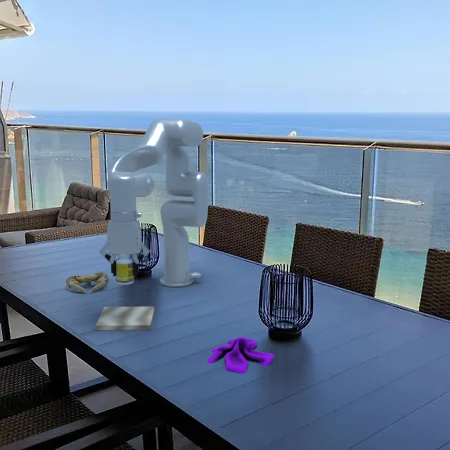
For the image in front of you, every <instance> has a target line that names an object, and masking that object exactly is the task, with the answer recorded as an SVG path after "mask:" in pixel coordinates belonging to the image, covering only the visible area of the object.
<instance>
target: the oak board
mask: <svg viewBox="0 0 450 450" xmlns="http://www.w3.org/2000/svg"><path fill="white" fill-rule="evenodd" d="M154 314H155V306H104V307H103V309H102V311H101V313H100V315H99V317H98V320H97V322H96V323H95V326H94V327H95V328H94V329H95V331H150V330H151V328H152V324H153V318H154Z"/></svg>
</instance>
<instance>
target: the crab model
mask: <svg viewBox="0 0 450 450" xmlns="http://www.w3.org/2000/svg"><path fill="white" fill-rule="evenodd" d="M103 277H104V279H105V280H104V279H103ZM109 281H110V277H109V275H108V274H107V273H105V272H104V271H98V272H97V273H95V274H85V275H82V276H81V275H78V274H76V275H70V276H69V277H68V278H66V281H65V285H66V289H67V290H68V291H71V289H70V287H71V288H73V290H76V291H78V292H81V293H83V294H85V293H87V290H86V289H85V288H84V287H82V286H81V285H82V284H87V285H88V286H91V284H92V283H93V282H94V283H97V284H95V285H94V286H93V288H92V289H90V292H89V293H94V292H96V291H97V290H99V289H101V288H103V287H104V286H106V285H108V283H109ZM70 282H71V284H70Z"/></svg>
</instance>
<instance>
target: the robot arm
mask: <svg viewBox="0 0 450 450" xmlns="http://www.w3.org/2000/svg"><path fill="white" fill-rule="evenodd" d="M203 138H204V132H203V128H202V126H201V125H200V124H199V123H198V122H196V121H191V120H187V119H182V118H158V119H155V120H153V121H151V123H150V124H149V126H148V127H147V129H146V131H145V134H144V136H143V137H142V140H141V141H140V143H139V145H138V146H137V147H135V148H133V149H131V150H130V151H128V152H127V153H125V154H123V155H122V156H121V157H119V158H118V159H117V160H116V161H115V163H114V165H113V166H112V168H111V170H110V172H109V174H108V177H107V181H106V187H107V190H108V192H109V196H110V197H109V198H110V199H109V201H110V202H109V205H110V220H108V223H107V224H108V225H107V233H106V242H105V244H104V245H103V246H102V247H101V248H100V250H98V253H99V254H100V255H102V256H103V257H104V258H105V260H107V261H108V263H109V264H110V272H111V274H112V277H113V278H114V277H115V278H116V259H117V256H118V255H120V254H132V255H131V257H132V258H133V259H134V264H133V276H134V277H137V274H139V273H140V268H139V267H140V265H139V263H140V262H141V261H142V260H143V259H144V258H145V257H146V256H148V254H149V253H150V251H151V250H150V249H149V248H148V247H147V246H146V244H144V242H143V240H142V238H143V237H142V229H141V228H142V227H141V224H140V220H138V218H142V212H138V211H137V198H146V197H148V196H150V195H151V193H153V191H154V188H155V180H154V179H153V177H152V176H151V175H150V174H149V173H147V172H139V170H142V169H146V168H149V167H152V166H154V165H157V164H159V163H160V162H161V161H162V160H163V158H164V155H165V162H166V166H165V190H166V193H167V194H168V195H169V196H173V197H183V198H193V200H183V199H180V200H179V199H170V200H166V201H164V202H163V203H162V204H161V207H160V211H159V212H160V218H161V225H162V233H163V234H162V235H163V237H162V238H163V240H162V241H163V276H162V277H161V278H160V279H159V283H160V284H161V285H162V286H166V287H173V288H177V287H178V288H179V287H185V286H190V285H192V284H193V283H194V279H201V278H202V277H201V276H202V274H201V273H200V272H198V271H196V272H195V271H194V272H192V271H191V269H190V239H189V237H190V236H189V234H188V231H187V230H186V228H185V227H190V228H201V227H204V226H205V225H206V224H207V221H208V213H209V212H208V210H209V188H210V187H209V186H210V185H209V179H208V175H206V173H204V172H201V171H196V170H195V171H193V170H192V171H191V170H190V156H189V153H188V152H187V150H186V148H185V147H188V148H189V147H190V148H196V147H198V146H200V145H201V143H202V142H203ZM136 171H138V172H136ZM141 250H142V251H143V252H142V253H141Z"/></svg>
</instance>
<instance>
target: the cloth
mask: <svg viewBox="0 0 450 450" xmlns="http://www.w3.org/2000/svg"><path fill="white" fill-rule="evenodd" d="M258 343H259V341H257V340H256V339H254V338H246V337H244V336H238V337H237V338H232V339H228V340H227V341H226V344H227V345H220V346H218V347H215V348H212V349H211V350H210V353H212V355H211V356H210V357H208V359H207V360H206V362H205V363H206V364H209V365H211V364H214V363H216V362H217V361H218V360H219V359H220V357H221V358H222V357H223V356H224V361H225V366H226V367H225V368H224V370H225V372H231V373H237V374H241V375H242V374H247V369H248V367H249V361H248V360H252V361H256V362H257V363H259V364H260V365H261V366H262V367H268V366H269V365H270V364H271V363H272V362H273V360H274V359H275V357H276V356H275V354H273V353H270V352H262V351H257V350H255V348H256V347H258Z"/></svg>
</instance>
